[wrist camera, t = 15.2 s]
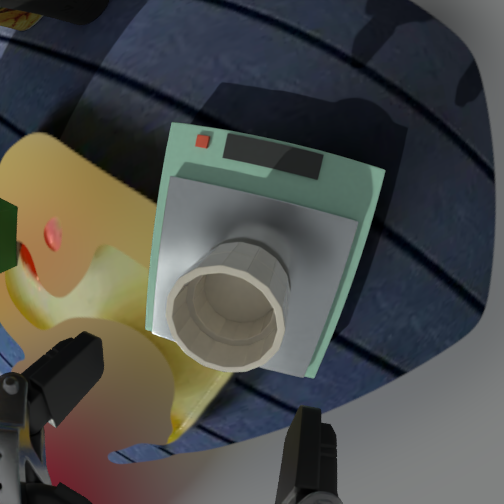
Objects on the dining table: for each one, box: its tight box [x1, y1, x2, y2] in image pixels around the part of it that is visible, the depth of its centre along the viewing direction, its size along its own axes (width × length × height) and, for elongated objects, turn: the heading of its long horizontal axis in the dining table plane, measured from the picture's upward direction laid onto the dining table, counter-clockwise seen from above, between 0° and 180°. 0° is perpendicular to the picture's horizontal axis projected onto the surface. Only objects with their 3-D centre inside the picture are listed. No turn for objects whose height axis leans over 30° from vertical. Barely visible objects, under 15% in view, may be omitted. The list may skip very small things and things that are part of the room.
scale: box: [145, 122, 385, 378], centre depth 22 cm, size 14×16×3 cm
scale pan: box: [152, 175, 359, 378], centre depth 20 cm, size 12×12×1 cm
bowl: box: [166, 242, 290, 372], centre depth 18 cm, size 6×6×5 cm
